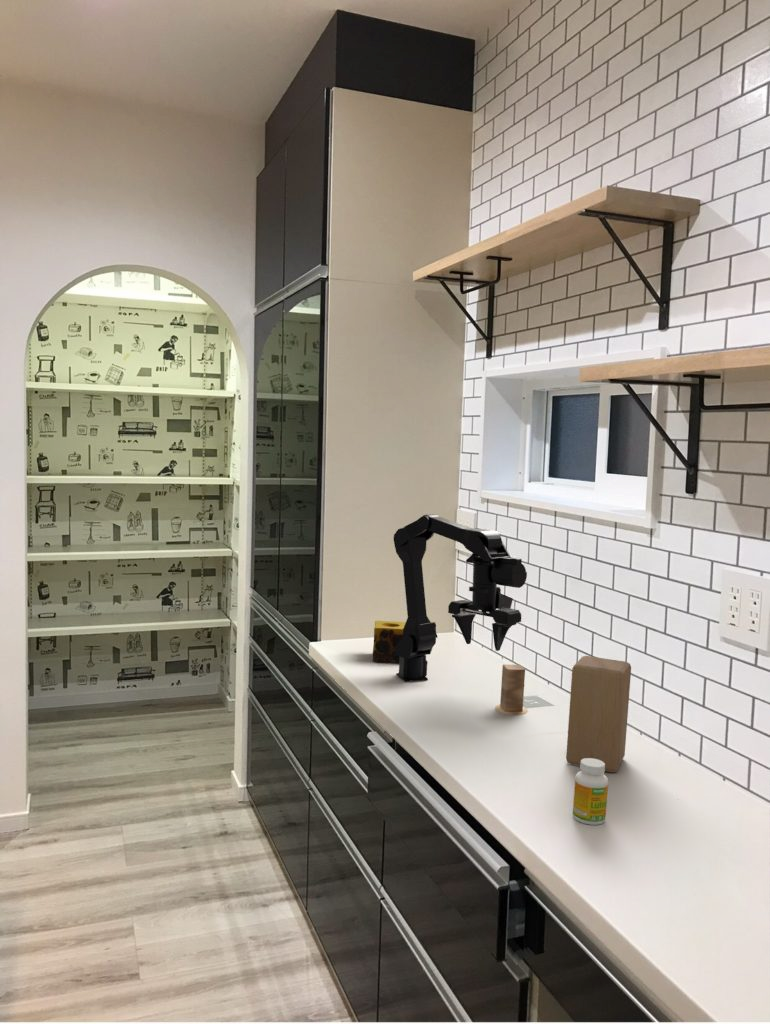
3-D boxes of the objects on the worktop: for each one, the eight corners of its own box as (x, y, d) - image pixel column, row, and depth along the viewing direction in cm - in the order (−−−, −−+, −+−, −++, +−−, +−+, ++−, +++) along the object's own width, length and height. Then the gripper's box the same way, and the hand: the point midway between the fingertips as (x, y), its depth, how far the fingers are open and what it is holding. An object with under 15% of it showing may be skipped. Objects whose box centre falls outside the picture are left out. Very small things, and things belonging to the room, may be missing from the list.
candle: (408, 665, 231) (410, 629, 231) (372, 663, 232) (373, 627, 231) (408, 655, 242) (409, 621, 241) (373, 653, 242) (374, 620, 241)
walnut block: (504, 711, 193) (507, 669, 192) (500, 705, 197) (502, 664, 196) (522, 711, 194) (525, 669, 193) (517, 706, 198) (520, 664, 197)
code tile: (525, 709, 197) (525, 707, 197) (508, 699, 204) (508, 697, 204) (554, 706, 200) (554, 705, 200) (536, 696, 207) (536, 695, 207)
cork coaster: (505, 717, 190) (505, 715, 190) (489, 706, 197) (489, 705, 197) (533, 714, 193) (534, 712, 193) (516, 704, 200) (516, 702, 200)
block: (625, 758, 168) (632, 661, 167) (616, 775, 159) (624, 673, 158) (575, 748, 173) (582, 653, 171) (564, 764, 164) (571, 664, 162)
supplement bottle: (590, 828, 136) (594, 771, 136) (565, 815, 141) (569, 759, 140) (612, 821, 140) (616, 764, 139) (586, 808, 144) (590, 754, 143)
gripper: (536, 584, 199) (534, 649, 199) (477, 575, 212) (476, 636, 213) (506, 588, 191) (504, 656, 192) (447, 579, 205) (445, 642, 206)
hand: (482, 647), depth 201 cm, fingers open, 9 cm apart
